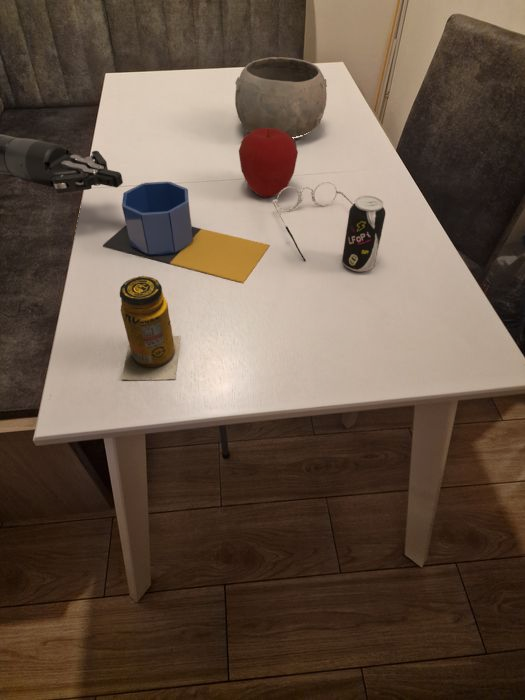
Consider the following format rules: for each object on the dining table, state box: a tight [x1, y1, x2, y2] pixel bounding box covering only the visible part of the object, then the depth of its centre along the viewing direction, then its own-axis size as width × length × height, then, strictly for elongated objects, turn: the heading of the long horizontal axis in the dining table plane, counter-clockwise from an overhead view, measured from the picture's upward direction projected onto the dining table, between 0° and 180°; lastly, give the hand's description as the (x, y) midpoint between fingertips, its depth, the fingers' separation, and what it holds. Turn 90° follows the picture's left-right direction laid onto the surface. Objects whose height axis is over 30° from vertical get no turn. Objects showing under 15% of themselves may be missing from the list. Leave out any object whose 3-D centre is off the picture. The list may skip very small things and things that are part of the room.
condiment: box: [119, 275, 181, 381], centre depth 64 cm, size 7×8×12 cm
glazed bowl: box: [121, 181, 193, 255], centre depth 87 cm, size 11×11×8 cm
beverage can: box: [341, 195, 386, 273], centre depth 81 cm, size 6×6×12 cm
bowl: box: [234, 56, 328, 141], centre depth 120 cm, size 23×23×15 cm
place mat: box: [102, 224, 271, 284], centre depth 88 cm, size 28×12×1 cm, turn 68°
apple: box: [238, 128, 299, 198], centre depth 98 cm, size 12×12×13 cm
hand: (119, 180), depth 84 cm, fingers closed
